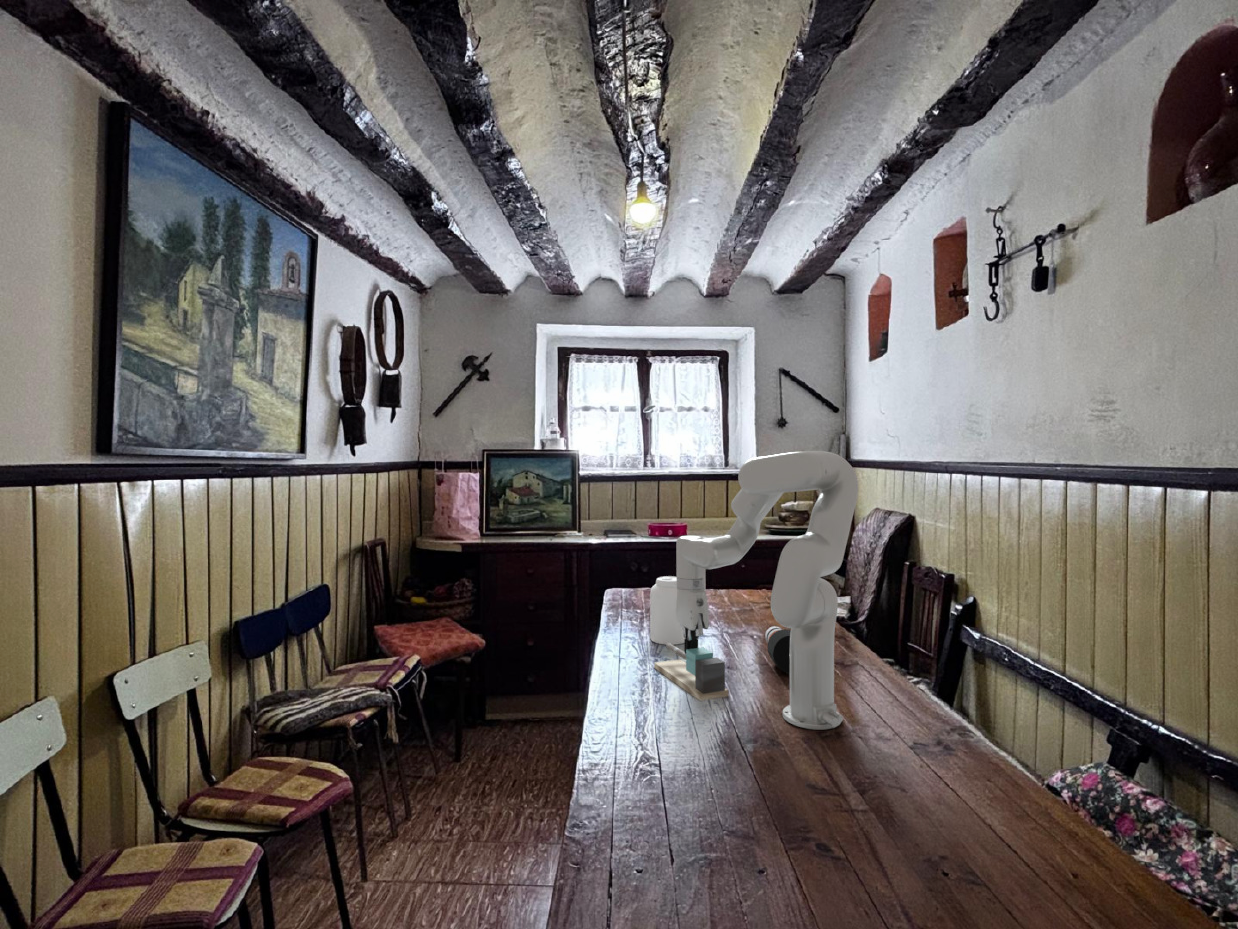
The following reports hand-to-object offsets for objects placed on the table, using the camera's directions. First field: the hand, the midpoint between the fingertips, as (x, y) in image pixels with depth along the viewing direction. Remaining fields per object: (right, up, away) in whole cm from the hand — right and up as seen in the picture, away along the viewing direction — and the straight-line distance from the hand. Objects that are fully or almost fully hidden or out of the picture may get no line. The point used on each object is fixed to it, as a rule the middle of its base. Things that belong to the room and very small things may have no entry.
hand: (691, 653), depth 169 cm
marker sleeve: (+2, -3, -4) cm, 6 cm away
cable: (+29, -8, +21) cm, 37 cm away
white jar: (-3, -7, +39) cm, 40 cm away
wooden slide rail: (0, -8, +1) cm, 8 cm away
